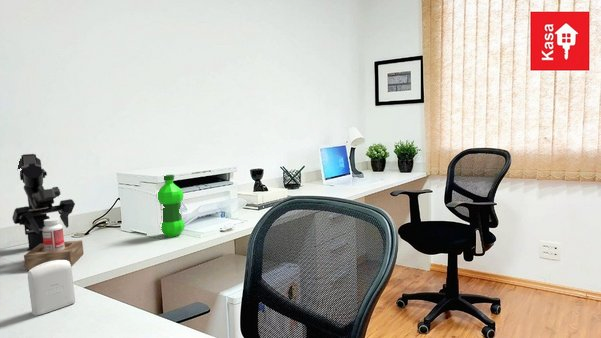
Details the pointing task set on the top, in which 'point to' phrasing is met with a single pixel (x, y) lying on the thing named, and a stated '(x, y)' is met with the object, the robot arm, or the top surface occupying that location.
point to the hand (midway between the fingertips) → (53, 229)
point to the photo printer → (51, 286)
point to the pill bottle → (53, 235)
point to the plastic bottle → (171, 207)
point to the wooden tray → (54, 254)
